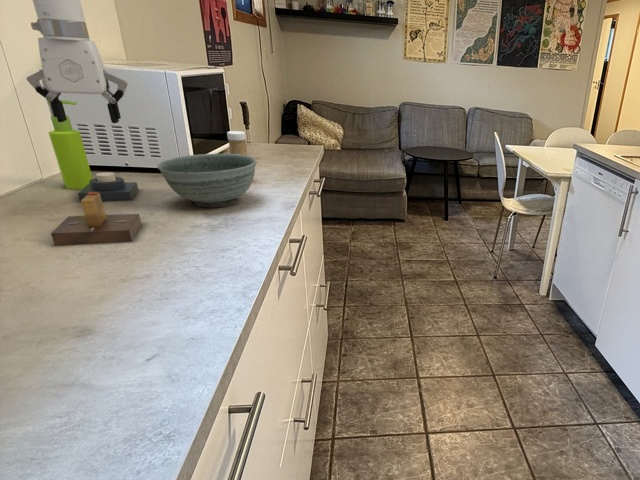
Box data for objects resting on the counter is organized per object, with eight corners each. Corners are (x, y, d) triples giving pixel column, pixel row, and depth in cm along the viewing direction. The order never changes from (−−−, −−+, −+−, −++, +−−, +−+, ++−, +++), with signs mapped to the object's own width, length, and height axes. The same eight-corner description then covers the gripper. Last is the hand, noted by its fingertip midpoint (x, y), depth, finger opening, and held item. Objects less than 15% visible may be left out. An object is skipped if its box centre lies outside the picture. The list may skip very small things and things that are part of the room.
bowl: (261, 213, 109) (256, 170, 104) (158, 217, 102) (148, 171, 97) (261, 190, 126) (256, 152, 121) (172, 192, 119) (164, 151, 115)
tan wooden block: (99, 226, 88) (92, 199, 86) (88, 227, 88) (80, 199, 85) (106, 218, 92) (99, 191, 90) (95, 218, 92) (88, 192, 89)
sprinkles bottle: (235, 184, 130) (228, 133, 123) (232, 180, 133) (225, 130, 127) (252, 183, 132) (246, 133, 126) (249, 179, 135) (243, 130, 129)
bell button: (96, 183, 109) (94, 175, 108) (100, 179, 112) (98, 172, 111) (114, 183, 110) (112, 175, 109) (117, 179, 113) (115, 172, 112)
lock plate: (55, 246, 85) (50, 232, 84) (71, 228, 93) (67, 215, 92) (132, 242, 89) (128, 229, 88) (141, 225, 97) (138, 212, 96)
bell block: (80, 202, 107) (75, 185, 105) (91, 192, 115) (86, 175, 113) (131, 201, 111) (127, 184, 109) (138, 191, 118) (135, 175, 116)
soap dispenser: (99, 188, 118) (76, 102, 109) (65, 190, 114) (37, 101, 105) (99, 182, 122) (76, 99, 113) (66, 184, 118) (39, 99, 109)
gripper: (2, 27, 88) (33, 123, 96) (110, 35, 94) (131, 125, 102) (19, 27, 94) (47, 118, 102) (120, 35, 100) (139, 120, 108)
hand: (89, 121), depth 102 cm, fingers open, 9 cm apart
